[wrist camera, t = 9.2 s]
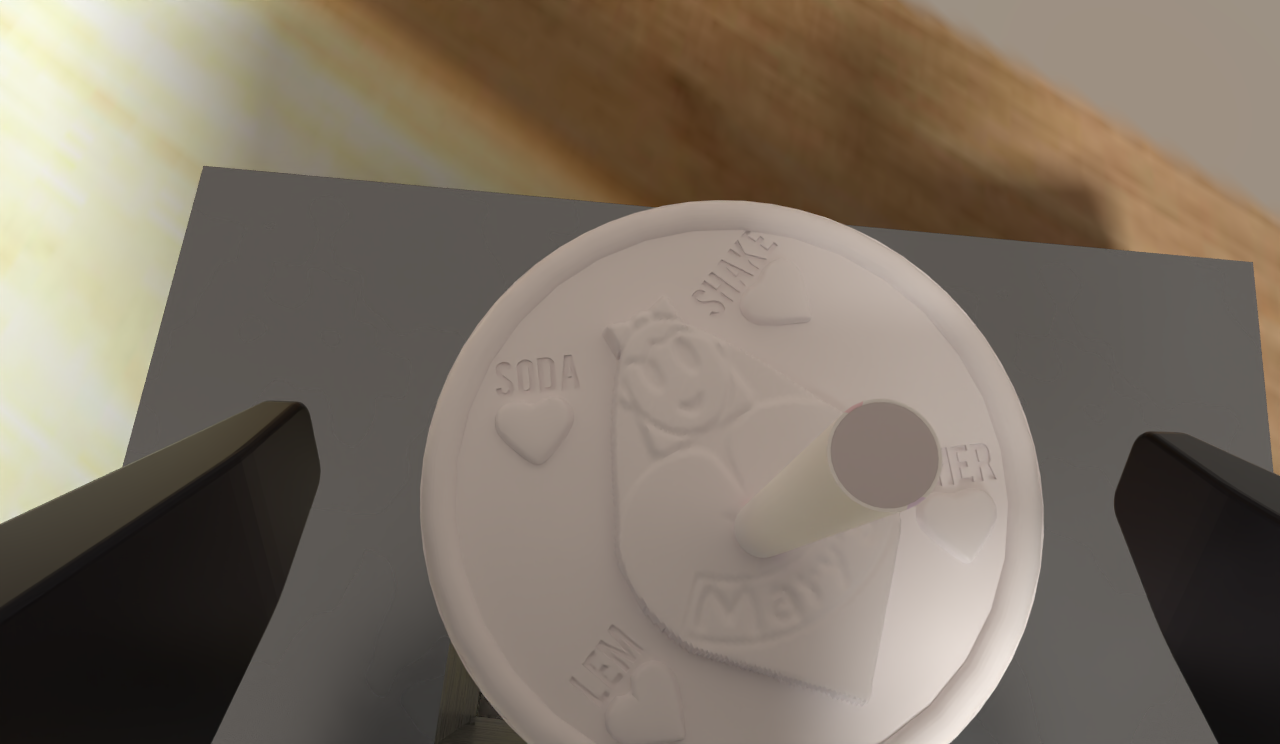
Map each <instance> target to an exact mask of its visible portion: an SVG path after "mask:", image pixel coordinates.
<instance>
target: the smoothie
mask: <svg viewBox="0 0 1280 744" xmlns="http://www.w3.org/2000/svg"><path fill="white" fill-rule="evenodd" d="M420 522H421V533H422V543H423V552H424V557H425V562H426V567H427V572H428V577H429V582H430V585H431V588H432V592H433V595H434V598H435V601H436V605H437V608H438V611H439V614H440V616H441V619H442V621H443V623H444V626H445V628H446V631H447V633H448V635H449V638H450V640H451V642H452V644H453V646H454V648H455V650H456V652H457V653H458V655H459V657H460V659H461V661H462V663H463V665H464V666H465V668H466V670H467V672H468V673H469V675H470V676H471V678H472V679H473V681H474V682H475V683H476V685H477V686H478V688H479V689H480V691H481V692H482V694H483V695H484V697H485V698H486V699H487V701H488V702H489V703H490V704H491V705H492V706H493V708H494V709H495V710H496V711H497V712H498V714H499V715H500V716H501V717H502V718H503V720H504V721H505V722H506V723H507V724H508V725H509V726H510V727H511V728H512V729H513V730H514V731H515V732H516V733H517V734H518V735H519V736H520V737H521V738H522V739H523V740H524V741H525V742H526V743H527V744H949V743H951V742H952V741H953V740H954V739H955V738H956V737H957V736H958V735H959V734H960V733H961V732H962V730H963V729H964V728H965V727H966V726H967V725H968V724H969V723H970V721H971V720H972V719H973V718H974V717H975V716H976V715H977V713H978V712H979V711H980V709H981V708H982V707H983V705H984V704H985V702H986V701H987V700H988V698H989V697H990V695H991V694H992V693H993V691H994V690H995V688H996V687H997V685H998V683H999V682H1000V680H1001V678H1002V676H1003V675H1004V673H1005V671H1006V669H1007V667H1008V666H1009V664H1010V662H1011V660H1012V658H1013V656H1014V654H1015V651H1016V649H1017V647H1018V644H1019V642H1020V640H1021V637H1022V635H1023V633H1024V630H1025V628H1026V624H1027V621H1028V618H1029V615H1030V612H1031V608H1032V605H1033V602H1034V599H1035V594H1036V589H1037V584H1038V579H1039V574H1040V569H1041V559H1042V549H1043V539H1044V505H1043V495H1042V485H1041V476H1040V470H1039V465H1038V460H1037V455H1036V450H1035V445H1034V442H1033V439H1032V435H1031V432H1030V429H1029V425H1028V422H1027V419H1026V416H1025V413H1024V411H1023V408H1022V406H1021V403H1020V401H1019V398H1018V396H1017V394H1016V391H1015V389H1014V387H1013V385H1012V383H1011V381H1010V379H1009V377H1008V375H1007V373H1006V371H1005V369H1004V367H1003V365H1002V364H1001V362H1000V360H999V359H998V357H997V355H996V354H995V352H994V351H993V349H992V348H991V346H990V345H989V343H988V341H987V340H986V338H985V337H984V336H983V334H982V333H981V332H980V330H979V329H978V328H977V326H976V325H975V324H974V323H973V321H972V320H971V319H970V317H969V316H968V315H967V314H966V313H965V312H964V310H963V309H962V308H961V307H960V306H959V305H958V304H957V303H956V302H955V301H954V300H953V299H952V298H951V296H950V295H949V294H948V293H947V292H946V291H945V290H943V289H942V288H941V287H940V286H939V285H938V284H937V283H936V282H935V281H933V280H932V279H931V278H930V277H929V276H928V275H927V274H926V273H924V272H923V271H922V270H920V269H919V268H918V267H916V266H915V265H914V264H912V263H911V262H910V261H908V260H907V259H906V258H904V257H903V256H902V255H900V254H898V253H897V252H895V251H893V250H892V249H890V248H889V247H887V246H885V245H884V244H882V243H881V242H879V241H877V240H875V239H873V238H871V237H869V236H867V235H865V234H863V233H861V232H859V231H857V230H855V229H853V228H851V227H849V226H846V225H844V224H841V223H839V222H836V221H833V220H831V219H828V218H826V217H822V216H819V215H816V214H812V213H809V212H806V211H802V210H799V209H794V208H789V207H784V206H779V205H774V204H768V203H759V202H750V201H730V200H712V201H696V202H686V203H679V204H673V205H666V206H661V207H657V208H653V209H649V210H645V211H641V212H637V213H633V214H630V215H628V216H625V217H622V218H619V219H616V220H613V221H610V222H608V223H606V224H603V225H601V226H599V227H597V228H595V229H592V230H590V231H588V232H586V233H584V234H582V235H580V236H578V237H577V238H575V239H573V240H571V241H570V242H568V243H566V244H564V245H563V246H561V247H559V248H558V249H556V250H555V251H554V252H552V253H551V254H549V255H548V256H546V257H545V258H544V259H542V260H541V261H539V262H538V263H537V264H535V265H534V266H533V267H532V268H531V269H529V270H528V271H527V272H526V273H525V274H524V275H522V276H521V277H520V278H519V279H518V280H517V281H515V282H514V283H513V285H512V286H511V287H510V288H509V289H508V290H507V291H506V292H505V293H504V294H503V295H502V296H501V297H500V298H499V299H498V300H497V301H496V302H495V303H494V305H493V306H492V307H491V308H490V310H489V311H488V312H487V313H486V315H485V316H484V317H483V318H482V320H481V321H480V322H479V323H478V325H477V326H476V328H475V329H474V331H473V332H472V334H471V335H470V337H469V338H468V340H467V341H466V343H465V344H464V346H463V348H462V349H461V351H460V353H459V355H458V357H457V359H456V361H455V363H454V364H453V366H452V368H451V370H450V372H449V374H448V376H447V379H446V381H445V384H444V386H443V389H442V391H441V394H440V396H439V398H438V401H437V404H436V408H435V411H434V414H433V418H432V421H431V424H430V427H429V432H428V437H427V442H426V447H425V452H424V457H423V466H422V476H421V486H420Z"/></svg>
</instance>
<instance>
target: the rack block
mask: <svg viewBox="0 0 1280 744" xmlns="http://www.w3.org/2000/svg"><path fill="white" fill-rule="evenodd" d="M653 208H656V207H645V206H634V205H623V204H612V203H601V202H590V201H580V200H569V199H558V198H547V197H536V196H525V195H514V194H503V193H492V192H482V191H471V190H460V189H449V188H438V187H427V186H416V185H405V184H394V183H384V182H373V181H362V180H351V179H340V178H329V177H318V176H307V175H296V174H285V173H275V172H264V171H253V170H242V169H231V168H220V167H209V166H203V170H202V174H201V177H200V181H199V185H198V188H197V192H196V196H195V200H194V203H193V207H192V211H191V214H190V218H189V222H188V226H187V229H186V233H185V237H184V240H183V244H182V248H181V252H180V255H179V259H178V263H177V266H176V270H175V274H174V278H173V281H172V285H171V289H170V292H169V296H168V300H167V304H166V307H165V311H164V315H163V318H162V322H161V326H160V330H159V333H158V337H157V341H156V344H155V348H154V352H153V356H152V359H151V363H150V367H149V370H148V374H147V378H146V382H145V385H144V389H143V393H142V396H141V400H140V404H139V408H138V411H137V415H136V419H135V422H134V426H133V430H132V434H131V437H130V441H129V445H128V448H127V452H126V456H125V460H124V463H123V467H124V466H126V465H128V464H130V463H133V462H135V461H137V460H139V459H141V458H143V457H145V456H148V455H150V454H152V453H154V452H156V451H158V450H161V449H163V448H165V447H167V446H169V445H171V444H173V443H176V442H178V441H180V440H182V439H184V438H186V437H188V436H191V435H193V434H195V433H197V432H199V431H201V430H204V429H206V428H208V427H210V426H212V425H214V424H216V423H219V422H221V421H223V420H225V419H227V418H229V417H231V416H234V415H236V414H238V413H240V412H242V411H244V410H246V409H249V408H251V407H253V406H255V405H257V404H259V403H262V402H264V401H296V402H301V403H303V404H304V405H305V406H306V407H307V409H308V411H309V413H310V416H311V421H312V426H313V431H314V436H315V440H316V445H317V450H318V455H319V460H320V468H321V474H320V482H319V486H318V489H317V492H316V495H315V498H314V501H313V504H312V507H311V510H310V513H309V516H308V519H307V522H306V525H305V527H304V530H303V533H302V536H301V539H300V542H299V545H298V548H297V551H296V554H295V557H294V560H293V563H292V566H291V569H290V572H289V575H288V577H287V580H286V583H285V586H284V589H283V591H282V594H281V597H280V599H279V602H278V604H277V606H276V609H275V611H274V613H273V615H272V618H271V620H270V622H269V624H268V626H267V628H266V631H265V633H264V635H263V637H262V639H261V641H260V643H259V645H258V647H257V649H256V651H255V653H254V656H253V658H252V660H251V662H250V664H249V666H248V668H247V670H246V672H245V674H244V676H243V679H242V681H241V683H240V685H239V687H238V689H237V691H236V693H235V695H234V697H233V699H232V702H231V704H230V706H229V708H228V710H227V712H226V714H225V716H224V718H223V720H222V722H221V725H220V727H219V729H218V731H217V733H216V735H215V737H214V739H213V741H212V743H211V744H527V743H526V742H525V741H524V740H523V739H522V738H521V737H520V736H519V735H518V734H517V733H516V732H515V731H514V730H513V729H512V728H511V727H510V726H509V725H508V724H507V723H506V722H505V721H504V720H503V719H496V718H487V717H478V716H476V715H477V708H478V701H479V694H480V689H479V688H478V686H477V685H476V683H475V682H474V681H473V679H472V678H471V676H470V675H469V673H468V672H467V670H466V668H465V666H464V665H463V663H462V661H461V659H460V657H459V655H458V653H457V652H456V650H455V648H454V646H453V644H452V642H451V640H450V638H449V635H448V633H447V631H446V628H445V626H444V623H443V621H442V619H441V616H440V614H439V611H438V608H437V605H436V601H435V598H434V595H433V592H432V588H431V585H430V582H429V577H428V572H427V567H426V562H425V557H424V552H423V543H422V533H421V522H420V486H421V476H422V466H423V457H424V452H425V447H426V442H427V437H428V432H429V427H430V424H431V421H432V418H433V414H434V411H435V408H436V404H437V401H438V398H439V396H440V394H441V391H442V389H443V386H444V384H445V381H446V379H447V376H448V374H449V372H450V370H451V368H452V366H453V364H454V363H455V361H456V359H457V357H458V355H459V353H460V351H461V349H462V348H463V346H464V344H465V343H466V341H467V340H468V338H469V337H470V335H471V334H472V332H473V331H474V329H475V328H476V326H477V325H478V323H479V322H480V321H481V320H482V318H483V317H484V316H485V315H486V313H487V312H488V311H489V310H490V308H491V307H492V306H493V305H494V303H495V302H496V301H497V300H498V299H499V298H500V297H501V296H502V295H503V294H504V293H505V292H506V291H507V290H508V289H509V288H510V287H511V286H512V285H513V283H514V282H515V281H517V280H518V279H519V278H520V277H521V276H522V275H524V274H525V273H526V272H527V271H528V270H529V269H531V268H532V267H533V266H534V265H535V264H537V263H538V262H539V261H541V260H542V259H544V258H545V257H546V256H548V255H549V254H551V253H552V252H554V251H555V250H556V249H558V248H559V247H561V246H563V245H564V244H566V243H568V242H570V241H571V240H573V239H575V238H577V237H578V236H580V235H582V234H584V233H586V232H588V231H590V230H592V229H595V228H597V227H599V226H601V225H603V224H606V223H608V222H610V221H613V220H616V219H619V218H622V217H625V216H628V215H630V214H633V213H637V212H641V211H645V210H649V209H653ZM846 226H849V227H851V228H853V229H855V230H857V231H859V232H861V233H863V234H865V235H867V236H869V237H871V238H873V239H875V240H877V241H879V242H881V243H882V244H884V245H885V246H887V247H889V248H890V249H892V250H893V251H895V252H897V253H898V254H900V255H902V256H903V257H904V258H906V259H907V260H908V261H910V262H911V263H912V264H914V265H915V266H916V267H918V268H919V269H920V270H922V271H923V272H924V273H926V274H927V275H928V276H929V277H930V278H931V279H932V280H933V281H935V282H936V283H937V284H938V285H939V286H940V287H941V288H942V289H943V290H945V291H946V292H947V293H948V294H949V295H950V296H951V298H952V299H953V300H954V301H955V302H956V303H957V304H958V305H959V306H960V307H961V308H962V309H963V310H964V312H965V313H966V314H967V315H968V316H969V317H970V319H971V320H972V321H973V323H974V324H975V325H976V326H977V328H978V329H979V330H980V332H981V333H982V334H983V336H984V337H985V338H986V340H987V341H988V343H989V345H990V346H991V348H992V349H993V351H994V352H995V354H996V355H997V357H998V359H999V360H1000V362H1001V364H1002V365H1003V367H1004V369H1005V371H1006V373H1007V375H1008V377H1009V379H1010V381H1011V383H1012V385H1013V387H1014V389H1015V391H1016V394H1017V396H1018V398H1019V401H1020V403H1021V406H1022V408H1023V411H1024V413H1025V416H1026V419H1027V422H1028V425H1029V429H1030V432H1031V435H1032V439H1033V442H1034V445H1035V450H1036V455H1037V460H1038V465H1039V470H1040V476H1041V485H1042V495H1043V505H1044V539H1043V549H1042V559H1041V569H1040V574H1039V579H1038V584H1037V589H1036V594H1035V599H1034V602H1033V605H1032V608H1031V612H1030V615H1029V618H1028V621H1027V624H1026V628H1025V630H1024V633H1023V635H1022V637H1021V640H1020V642H1019V644H1018V647H1017V649H1016V651H1015V654H1014V656H1013V658H1012V660H1011V662H1010V664H1009V666H1008V667H1007V669H1006V671H1005V673H1004V675H1003V676H1002V678H1001V680H1000V682H999V683H998V685H997V687H996V688H995V690H994V691H993V693H992V694H991V695H990V697H989V698H988V700H987V701H986V702H985V704H984V705H983V707H982V708H981V709H980V711H979V712H978V713H977V715H976V716H975V717H974V718H973V719H972V720H971V721H970V723H969V724H968V725H967V726H966V727H965V728H964V729H963V730H962V732H961V733H960V734H959V735H958V736H957V737H956V738H955V739H954V740H953V741H952V742H951V743H949V744H1218V742H1217V740H1216V739H1215V737H1214V735H1213V733H1212V731H1211V729H1210V727H1209V725H1208V723H1207V721H1206V719H1205V717H1204V715H1203V714H1202V712H1201V710H1200V708H1199V706H1198V704H1197V702H1196V700H1195V698H1194V696H1193V694H1192V692H1191V690H1190V689H1189V687H1188V685H1187V683H1186V681H1185V679H1184V677H1183V675H1182V673H1181V671H1180V669H1179V667H1178V665H1177V664H1176V662H1175V660H1174V658H1173V656H1172V654H1171V652H1170V649H1169V647H1168V645H1167V643H1166V641H1165V639H1164V637H1163V635H1162V632H1161V630H1160V628H1159V625H1158V623H1157V621H1156V618H1155V616H1154V613H1153V611H1152V608H1151V606H1150V603H1149V601H1148V598H1147V595H1146V593H1145V590H1144V588H1143V585H1142V583H1141V580H1140V577H1139V575H1138V572H1137V570H1136V567H1135V564H1134V562H1133V559H1132V557H1131V554H1130V552H1129V549H1128V546H1127V544H1126V541H1125V539H1124V536H1123V534H1122V531H1121V528H1120V526H1119V523H1118V521H1117V518H1116V515H1115V510H1114V495H1115V491H1116V488H1117V485H1118V483H1119V480H1120V477H1121V475H1122V472H1123V469H1124V467H1125V464H1126V462H1127V459H1128V456H1129V454H1130V451H1131V448H1132V446H1133V444H1134V442H1135V440H1136V439H1137V437H1138V436H1139V435H1141V434H1143V433H1145V432H1149V431H1157V432H1180V433H1185V434H1188V435H1191V436H1193V437H1195V438H1197V439H1199V440H1202V441H1204V442H1206V443H1208V444H1210V445H1213V446H1215V447H1217V448H1219V449H1221V450H1224V451H1226V452H1228V453H1230V454H1233V455H1235V456H1237V457H1239V458H1241V459H1244V460H1246V461H1248V462H1250V463H1252V464H1255V465H1257V466H1259V467H1261V468H1264V469H1266V470H1268V471H1270V472H1272V473H1273V464H1272V454H1271V444H1270V433H1269V423H1268V413H1267V403H1266V392H1265V382H1264V372H1263V362H1262V352H1261V341H1260V331H1259V321H1258V311H1257V301H1256V290H1255V280H1254V270H1253V262H1244V261H1233V260H1222V259H1211V258H1200V257H1189V256H1178V255H1168V254H1157V253H1146V252H1135V251H1124V250H1113V249H1102V248H1091V247H1080V246H1070V245H1059V244H1048V243H1037V242H1026V241H1015V240H1004V239H993V238H982V237H972V236H961V235H950V234H939V233H928V232H917V231H906V230H895V229H884V228H874V227H863V226H852V225H846Z"/></svg>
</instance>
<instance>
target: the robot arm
mask: <svg viewBox="0 0 1280 744" xmlns="http://www.w3.org/2000/svg"><path fill="white" fill-rule="evenodd" d="M320 474H321V468H320V460H319V455H318V450H317V445H316V440H315V436H314V431H313V426H312V421H311V416H310V413H309V411H308V409H307V407H306V406H305V405H304V404H303V403H301V402H296V401H264V402H262V403H259V404H257V405H255V406H253V407H251V408H249V409H246V410H244V411H242V412H240V413H238V414H236V415H234V416H231V417H229V418H227V419H225V420H223V421H221V422H219V423H216V424H214V425H212V426H210V427H208V428H206V429H204V430H201V431H199V432H197V433H195V434H193V435H191V436H188V437H186V438H184V439H182V440H180V441H178V442H176V443H173V444H171V445H169V446H167V447H165V448H163V449H161V450H158V451H156V452H154V453H152V454H150V455H148V456H145V457H143V458H141V459H139V460H137V461H135V462H133V463H130V464H128V465H126V466H124V467H122V468H120V469H118V470H115V471H113V472H111V473H109V474H107V475H105V476H103V477H100V478H98V479H96V480H94V481H92V482H90V483H87V484H85V485H83V486H81V487H79V488H77V489H75V490H72V491H70V492H68V493H66V494H64V495H62V496H60V497H57V498H55V499H53V500H51V501H49V502H47V503H45V504H42V505H40V506H38V507H36V508H34V509H32V510H29V511H27V512H25V513H23V514H21V515H19V516H17V517H14V518H12V519H10V520H8V521H6V522H4V523H2V524H0V744H211V743H212V741H213V739H214V737H215V735H216V733H217V731H218V729H219V727H220V725H221V722H222V720H223V718H224V716H225V714H226V712H227V710H228V708H229V706H230V704H231V702H232V699H233V697H234V695H235V693H236V691H237V689H238V687H239V685H240V683H241V681H242V679H243V676H244V674H245V672H246V670H247V668H248V666H249V664H250V662H251V660H252V658H253V656H254V653H255V651H256V649H257V647H258V645H259V643H260V641H261V639H262V637H263V635H264V633H265V631H266V628H267V626H268V624H269V622H270V620H271V618H272V615H273V613H274V611H275V609H276V606H277V604H278V602H279V599H280V597H281V594H282V591H283V589H284V586H285V583H286V580H287V577H288V575H289V572H290V569H291V566H292V563H293V560H294V557H295V554H296V551H297V548H298V545H299V542H300V539H301V536H302V533H303V530H304V527H305V525H306V522H307V519H308V516H309V513H310V510H311V507H312V504H313V501H314V498H315V495H316V492H317V489H318V486H319V482H320ZM1114 510H1115V515H1116V518H1117V521H1118V523H1119V526H1120V528H1121V531H1122V534H1123V536H1124V539H1125V541H1126V544H1127V546H1128V549H1129V552H1130V554H1131V557H1132V559H1133V562H1134V564H1135V567H1136V570H1137V572H1138V575H1139V577H1140V580H1141V583H1142V585H1143V588H1144V590H1145V593H1146V595H1147V598H1148V601H1149V603H1150V606H1151V608H1152V611H1153V613H1154V616H1155V618H1156V621H1157V623H1158V625H1159V628H1160V630H1161V632H1162V635H1163V637H1164V639H1165V641H1166V643H1167V645H1168V647H1169V649H1170V652H1171V654H1172V656H1173V658H1174V660H1175V662H1176V664H1177V665H1178V667H1179V669H1180V671H1181V673H1182V675H1183V677H1184V679H1185V681H1186V683H1187V685H1188V687H1189V689H1190V690H1191V692H1192V694H1193V696H1194V698H1195V700H1196V702H1197V704H1198V706H1199V708H1200V710H1201V712H1202V714H1203V715H1204V717H1205V719H1206V721H1207V723H1208V725H1209V727H1210V729H1211V731H1212V733H1213V735H1214V737H1215V739H1216V740H1217V742H1218V744H1280V476H1279V475H1277V474H1275V473H1272V472H1270V471H1268V470H1266V469H1264V468H1261V467H1259V466H1257V465H1255V464H1252V463H1250V462H1248V461H1246V460H1244V459H1241V458H1239V457H1237V456H1235V455H1233V454H1230V453H1228V452H1226V451H1224V450H1221V449H1219V448H1217V447H1215V446H1213V445H1210V444H1208V443H1206V442H1204V441H1202V440H1199V439H1197V438H1195V437H1193V436H1191V435H1188V434H1185V433H1180V432H1157V431H1149V432H1145V433H1143V434H1141V435H1139V436H1138V437H1137V439H1136V440H1135V442H1134V444H1133V446H1132V448H1131V451H1130V454H1129V456H1128V459H1127V462H1126V464H1125V467H1124V469H1123V472H1122V475H1121V477H1120V480H1119V483H1118V485H1117V488H1116V491H1115V495H1114Z"/></svg>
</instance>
